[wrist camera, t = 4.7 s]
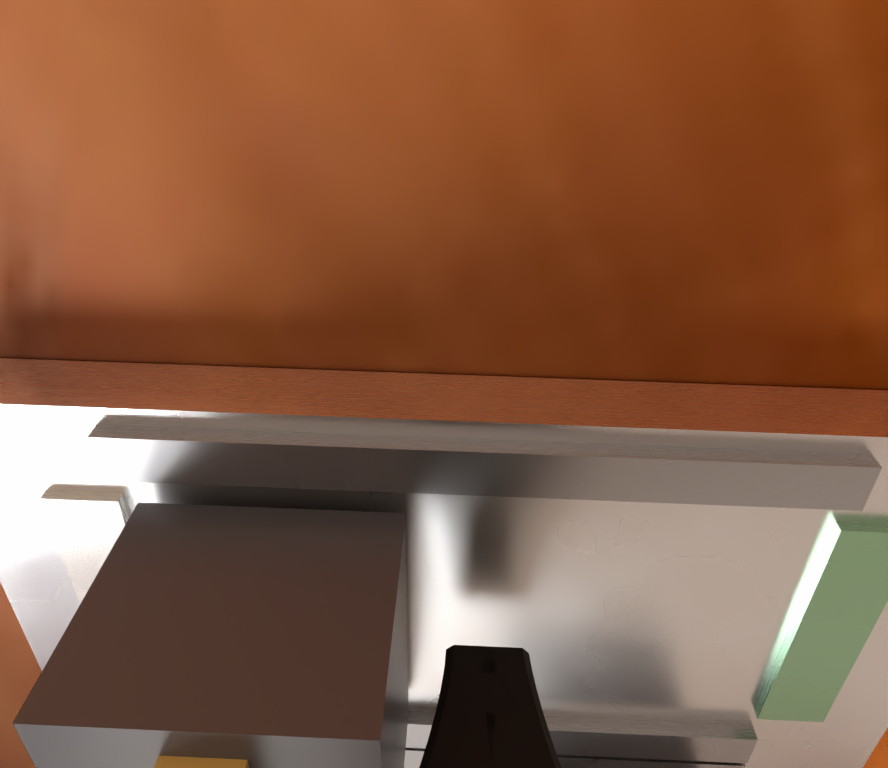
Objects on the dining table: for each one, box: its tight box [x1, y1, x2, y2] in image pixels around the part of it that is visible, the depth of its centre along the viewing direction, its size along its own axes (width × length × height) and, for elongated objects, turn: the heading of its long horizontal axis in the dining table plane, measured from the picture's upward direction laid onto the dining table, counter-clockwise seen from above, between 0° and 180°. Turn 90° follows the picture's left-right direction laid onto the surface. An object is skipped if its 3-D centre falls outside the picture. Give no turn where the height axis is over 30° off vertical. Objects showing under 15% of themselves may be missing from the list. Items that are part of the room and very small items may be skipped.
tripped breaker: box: [13, 503, 409, 768], centre depth 10 cm, size 4×5×4 cm
